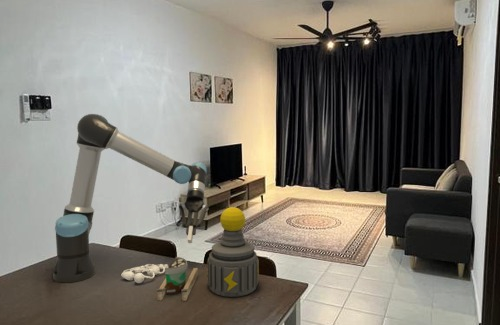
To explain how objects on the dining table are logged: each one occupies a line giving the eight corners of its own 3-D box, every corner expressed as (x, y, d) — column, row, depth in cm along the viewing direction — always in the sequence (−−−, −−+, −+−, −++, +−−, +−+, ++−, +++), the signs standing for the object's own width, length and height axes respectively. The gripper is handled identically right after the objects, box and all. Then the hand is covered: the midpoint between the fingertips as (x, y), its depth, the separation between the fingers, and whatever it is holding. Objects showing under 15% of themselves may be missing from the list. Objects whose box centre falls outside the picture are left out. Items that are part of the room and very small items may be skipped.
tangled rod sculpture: (152, 266, 167) (151, 257, 167) (177, 270, 159) (176, 260, 159) (115, 280, 151) (114, 270, 151) (141, 286, 143) (140, 275, 143)
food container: (182, 297, 135) (182, 269, 134) (165, 296, 136) (164, 268, 135) (192, 282, 147) (191, 257, 146) (176, 281, 148) (176, 256, 147)
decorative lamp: (203, 298, 134) (202, 213, 131) (211, 276, 153) (210, 201, 150) (258, 298, 134) (258, 213, 130) (258, 277, 152) (258, 202, 149)
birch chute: (156, 300, 132) (156, 290, 132) (172, 274, 154) (172, 266, 154) (186, 300, 132) (186, 290, 132) (198, 275, 154) (197, 266, 153)
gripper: (211, 198, 176) (206, 245, 161) (182, 198, 176) (175, 245, 161) (209, 188, 170) (204, 237, 155) (179, 188, 170) (172, 237, 155)
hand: (189, 241), depth 158 cm, fingers closed
